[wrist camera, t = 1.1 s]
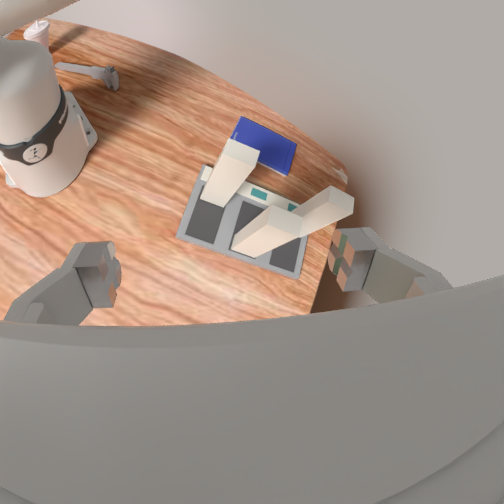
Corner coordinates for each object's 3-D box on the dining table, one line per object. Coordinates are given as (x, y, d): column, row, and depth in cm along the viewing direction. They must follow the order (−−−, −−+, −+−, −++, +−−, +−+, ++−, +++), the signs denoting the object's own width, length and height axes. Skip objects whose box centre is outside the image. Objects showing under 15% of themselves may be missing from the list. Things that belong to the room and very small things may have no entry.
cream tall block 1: (223, 207, 43) (255, 167, 30) (199, 198, 42) (222, 153, 29) (227, 194, 44) (260, 151, 31) (204, 185, 43) (228, 138, 30)
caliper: (119, 89, 42) (119, 67, 36) (116, 93, 42) (115, 71, 36) (56, 65, 38) (52, 45, 32) (53, 67, 37) (49, 48, 31)
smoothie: (45, 64, 36) (36, 19, 23) (25, 66, 34) (14, 24, 21) (58, 47, 38) (53, 4, 25) (38, 49, 36) (31, 8, 23)
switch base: (295, 279, 47) (299, 278, 46) (175, 237, 41) (175, 235, 40) (309, 212, 51) (313, 209, 49) (201, 167, 45) (203, 163, 43)
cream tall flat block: (254, 257, 43) (298, 236, 31) (230, 249, 42) (266, 224, 29) (258, 243, 44) (303, 217, 31) (234, 235, 43) (271, 204, 30)
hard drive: (226, 145, 46) (288, 174, 49) (241, 114, 48) (297, 143, 52) (224, 149, 48) (284, 178, 51) (238, 119, 50) (293, 146, 53)
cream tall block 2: (300, 237, 47) (352, 213, 34) (279, 229, 46) (328, 201, 33) (302, 225, 48) (354, 197, 35) (282, 216, 47) (330, 185, 34)
